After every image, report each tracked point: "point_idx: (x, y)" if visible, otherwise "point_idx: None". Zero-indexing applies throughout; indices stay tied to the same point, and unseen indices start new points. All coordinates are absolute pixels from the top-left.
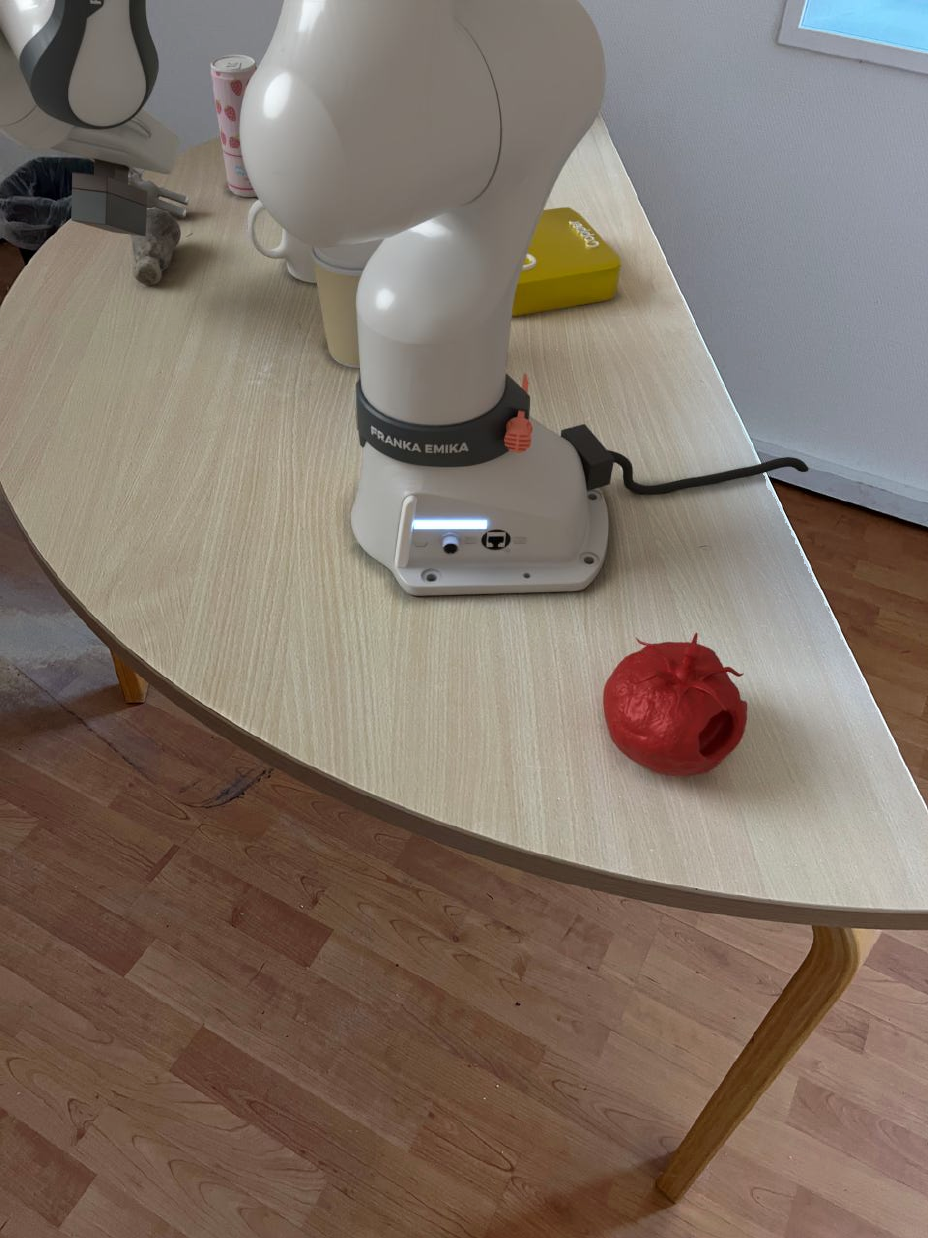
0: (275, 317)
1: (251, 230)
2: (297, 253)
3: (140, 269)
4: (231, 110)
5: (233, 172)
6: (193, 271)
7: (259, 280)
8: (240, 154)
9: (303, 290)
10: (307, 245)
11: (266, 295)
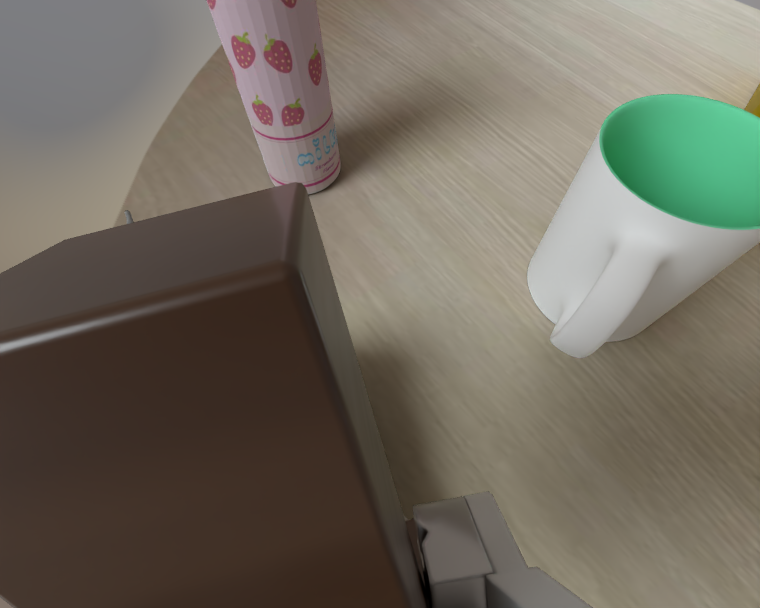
0: (699, 485)
1: (597, 347)
2: (635, 318)
3: None
4: (282, 50)
5: (294, 166)
6: (418, 434)
7: (549, 385)
8: (306, 132)
9: (642, 367)
10: (676, 302)
11: (608, 423)
